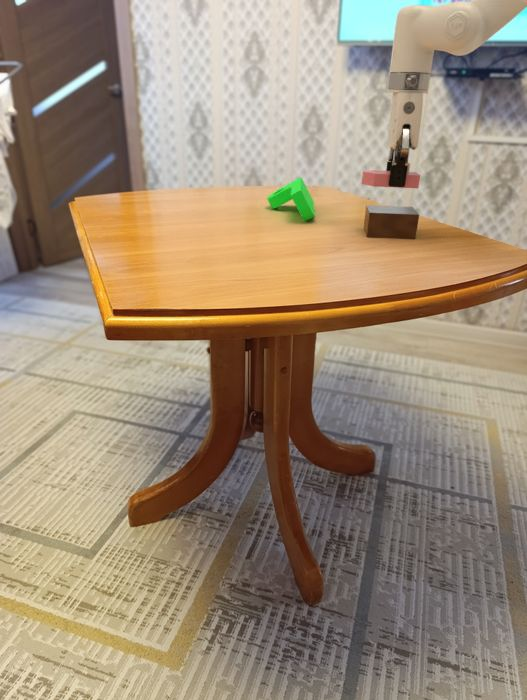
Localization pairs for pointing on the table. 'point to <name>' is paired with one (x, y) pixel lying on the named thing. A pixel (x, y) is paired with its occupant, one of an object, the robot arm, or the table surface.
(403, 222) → the block
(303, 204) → the bracket
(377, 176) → the boat
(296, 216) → the table surface
